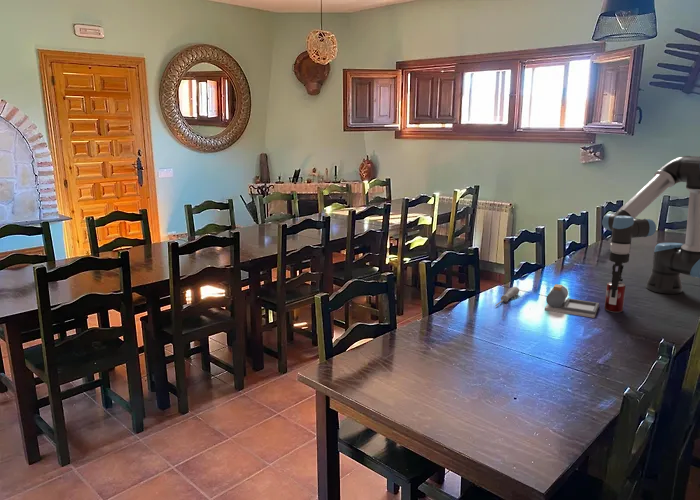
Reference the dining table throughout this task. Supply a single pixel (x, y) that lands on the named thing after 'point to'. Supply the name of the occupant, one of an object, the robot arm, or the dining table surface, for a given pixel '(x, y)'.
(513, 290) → the screwdriver
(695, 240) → the robot arm
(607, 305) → the soda can
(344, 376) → the dining table surface
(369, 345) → the dining table surface
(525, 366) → the dining table surface
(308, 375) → the dining table surface
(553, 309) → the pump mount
